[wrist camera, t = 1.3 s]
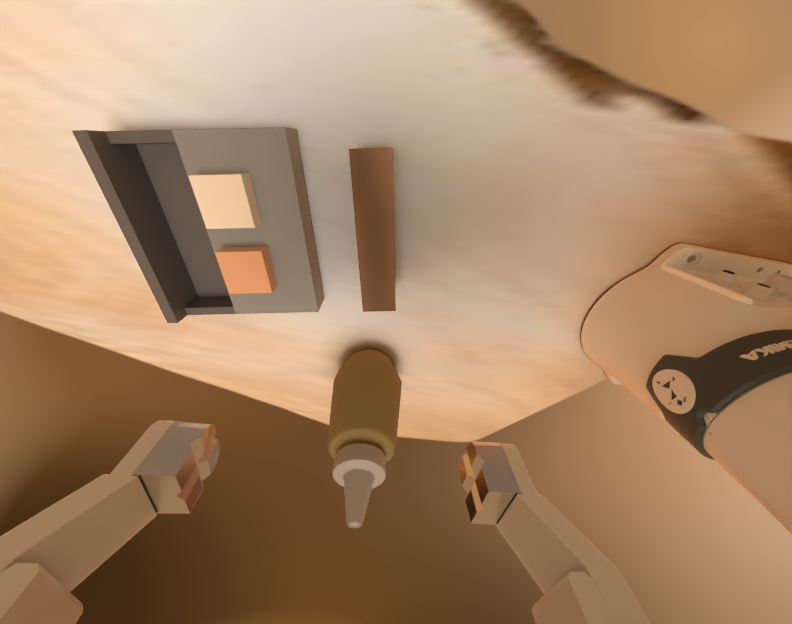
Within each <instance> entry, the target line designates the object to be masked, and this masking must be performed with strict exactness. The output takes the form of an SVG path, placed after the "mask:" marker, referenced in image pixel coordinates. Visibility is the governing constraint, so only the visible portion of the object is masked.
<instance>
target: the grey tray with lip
mask: <svg viewBox="0 0 792 624" xmlns="http://www.w3.org/2000/svg"><path fill="white" fill-rule="evenodd" d="M72 132H73V134H74V136H75V138H76V140H77V142H78V144H79V146H80V148H81V150H82V152H83V154H84V156H85V158H86V160H87V162H88V164H89V166H90V168H91V170H92V172H93V174H94V176H95V178H96V180H97V182H98V184H99V186H100V188H101V190H102V192H103V194H104V196H105V198H106V200H107V202H108V204H109V206H110V208H111V210H112V212H113V214H114V216H115V218H116V220H117V222H118V224H119V226H120V228H121V230H122V232H123V234H124V236H125V238H126V240H127V242H128V244H129V246H130V248H131V250H132V252H133V254H134V256H135V258H136V260H137V262H138V264H139V266H140V268H141V270H142V272H143V274H144V276H145V278H146V280H147V282H148V284H149V286H150V288H151V290H152V292H153V294H154V296H155V298H156V300H157V302H158V304H159V306H160V308H161V310H162V312H163V314H164V316H165V318H166V320H167V322H168V323H178V322H179V321H180V320H182V319H183V318H184V317H185V316H187V315H204V314H246V313H287V312H318V311H319V309H320V307H321V304H322V302H323V300H324V295H323V289H322V283H321V276H320V270H319V264H318V258H317V252H316V246H315V240H314V234H313V228H312V221H311V215H310V209H309V203H308V197H307V191H306V185H305V179H304V173H303V167H302V160H301V154H300V148H299V142H298V136H297V130H296V129H290V128H240V129H194V130H148V131H88V130H82V131H72ZM221 173H250V177H251V181H252V185H253V189H254V193H255V197H256V201H257V205H258V209H259V213H260V217H261V221H262V224H261V225H259V226H257V227H256V228H226V229H206V226H205V223H204V220H203V217H202V214H201V211H200V208H199V206H198V203H197V200H196V197H195V194H194V191H193V188H192V185H191V183H190V180H189V177H188V176H189V175H196V174H221ZM249 246H268V249H269V253H270V257H271V261H272V265H273V269H274V273H275V277H276V281H277V285H278V286H277V288H276V289H275V290H274V291H273V292H272V293H246V294H229V292H228V289H227V286H226V283H225V280H224V277H223V274H222V272H221V269H220V266H219V263H218V260H217V257H216V254H215V252H216V251H218V250H220V249H221V248H223V247H249Z"/></svg>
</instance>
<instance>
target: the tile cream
mask: <svg viewBox="0 0 792 624" xmlns="http://www.w3.org/2000/svg"><path fill="white" fill-rule="evenodd" d="M188 177H189V180H190V183H191V185H192V188H193V191H194V194H195V197H196V200H197V203H198V206H199V208H200V211H201V214H202V217H203V220H204V223H205V226H206V229H226V228H256V227H257V226H259V225H261V224H262V221H261V217H260V213H259V209H258V205H257V201H256V197H255V193H254V189H253V185H252V181H251V177H250V173H221V174H196V175H189V176H188Z"/></svg>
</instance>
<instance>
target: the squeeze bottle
mask: <svg viewBox="0 0 792 624" xmlns="http://www.w3.org/2000/svg"><path fill="white" fill-rule="evenodd" d="M400 396H401V380H400V378H399V376H398V374H397V372H396V370H395V368H394V366H393V364H392V362H391V360H390V358H389V357H388V356H387V355H385V354H384V353H383V352H381V351H378V350H375V349H364V350H360V351H357V352H356V353H354V354H353V355H352V356H351V357H350V358H349V359H348V360H347V361H346V363H345V364H344V365H343V366H342V367H341V369H340V370H339V371H338V373H337V375H336V377H335V380H334V385H333V395H332V405H331V414H330V424H329V434H328V451H329V453H330V454H331V456H332V457H333V458H334V459H335V461H334V466H333V471H332V472H333V478H334V479H335V480H336V481H337V483H338V484H340V485H341V486H343V487H344V489H345V505H346V519H347V526H348V527H350V528H359V527H361V526H362V524H363V520H364V516H365V512H366V508H367V505H368V501H369V497H370V493H371V490H372V488H375V487H376V486H378V485H380V484H381V483H382V482H383V481H384V479H385V477H386V462H387V461H389V460H390V459H391V458H392V456H393V455H394V453H395V450H396V439H397V428H398V418H399V407H400Z"/></svg>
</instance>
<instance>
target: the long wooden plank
mask: <svg viewBox="0 0 792 624" xmlns="http://www.w3.org/2000/svg"><path fill="white" fill-rule="evenodd" d="M349 153H350V165H351V176H352V188H353V200H354V211H355V223H356V235H357V247H358V258H359V270H360V282H361V294H362V305H363V312H366V311H396V308H395V256H394V204H393V151H392V148H376V149H349Z"/></svg>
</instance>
